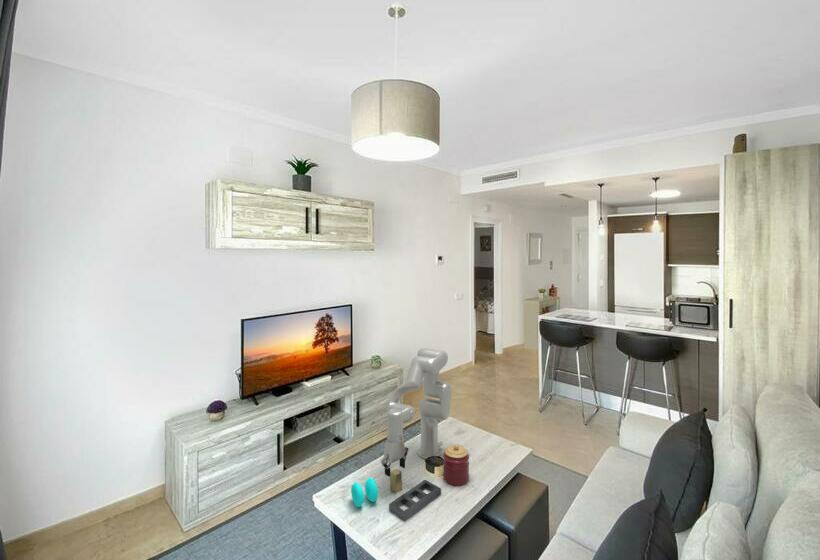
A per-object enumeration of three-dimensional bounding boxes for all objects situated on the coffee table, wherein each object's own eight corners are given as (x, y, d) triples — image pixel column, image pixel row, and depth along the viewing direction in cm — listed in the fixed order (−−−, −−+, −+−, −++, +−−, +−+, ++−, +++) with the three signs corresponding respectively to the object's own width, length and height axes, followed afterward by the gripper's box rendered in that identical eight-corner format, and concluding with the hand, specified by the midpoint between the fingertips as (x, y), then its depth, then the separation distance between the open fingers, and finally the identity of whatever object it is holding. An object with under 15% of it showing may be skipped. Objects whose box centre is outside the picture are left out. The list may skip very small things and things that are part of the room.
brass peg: (396, 486, 180) (395, 468, 180) (401, 489, 178) (401, 471, 177) (390, 489, 178) (389, 472, 177) (395, 493, 175) (395, 475, 174)
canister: (461, 468, 194) (461, 436, 193) (473, 483, 182) (473, 448, 181) (439, 473, 190) (438, 440, 189) (449, 489, 178) (449, 453, 177)
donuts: (379, 505, 167) (378, 484, 166) (358, 513, 162) (358, 491, 161) (370, 492, 176) (370, 472, 175) (350, 499, 171) (350, 479, 170)
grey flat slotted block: (425, 485, 181) (425, 479, 181) (441, 494, 174) (440, 488, 174) (389, 510, 163) (389, 503, 163) (405, 521, 157) (405, 514, 156)
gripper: (402, 427, 184) (402, 461, 185) (376, 439, 172) (376, 475, 173) (413, 432, 179) (413, 467, 180) (387, 445, 167) (387, 482, 167)
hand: (395, 471), depth 176 cm, fingers open, 9 cm apart
